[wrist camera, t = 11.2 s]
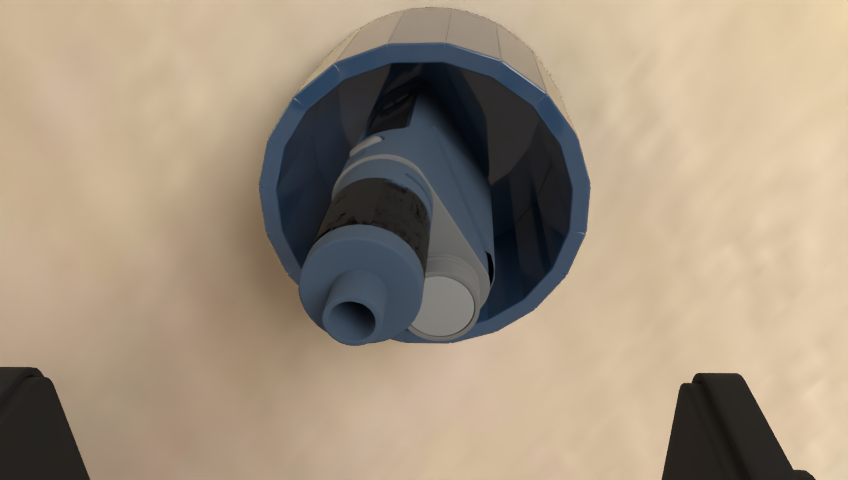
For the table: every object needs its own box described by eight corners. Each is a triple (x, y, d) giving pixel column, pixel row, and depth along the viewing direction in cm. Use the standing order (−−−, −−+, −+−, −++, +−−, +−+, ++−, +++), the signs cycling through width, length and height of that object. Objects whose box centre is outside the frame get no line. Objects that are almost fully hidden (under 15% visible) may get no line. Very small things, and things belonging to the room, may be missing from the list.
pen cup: (289, 9, 22) (235, 46, 17) (574, 3, 21) (604, 39, 16) (318, 255, 26) (282, 341, 21) (556, 256, 25) (576, 346, 20)
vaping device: (423, 61, 22) (374, 232, 11) (502, 192, 23) (525, 447, 13) (356, 101, 22) (250, 298, 12) (437, 225, 24) (410, 491, 14)
